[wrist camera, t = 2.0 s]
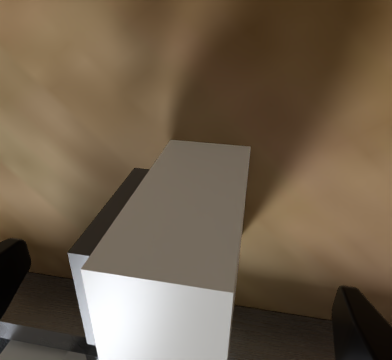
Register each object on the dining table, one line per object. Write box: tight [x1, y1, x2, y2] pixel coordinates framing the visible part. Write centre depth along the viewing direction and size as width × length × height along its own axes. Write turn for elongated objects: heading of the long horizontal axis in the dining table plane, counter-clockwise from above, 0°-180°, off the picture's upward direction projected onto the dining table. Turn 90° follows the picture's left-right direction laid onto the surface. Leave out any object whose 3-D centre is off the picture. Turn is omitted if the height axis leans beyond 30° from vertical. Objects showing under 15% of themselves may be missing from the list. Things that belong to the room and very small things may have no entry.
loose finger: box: [68, 140, 251, 360], centre depth 10 cm, size 4×4×7 cm
